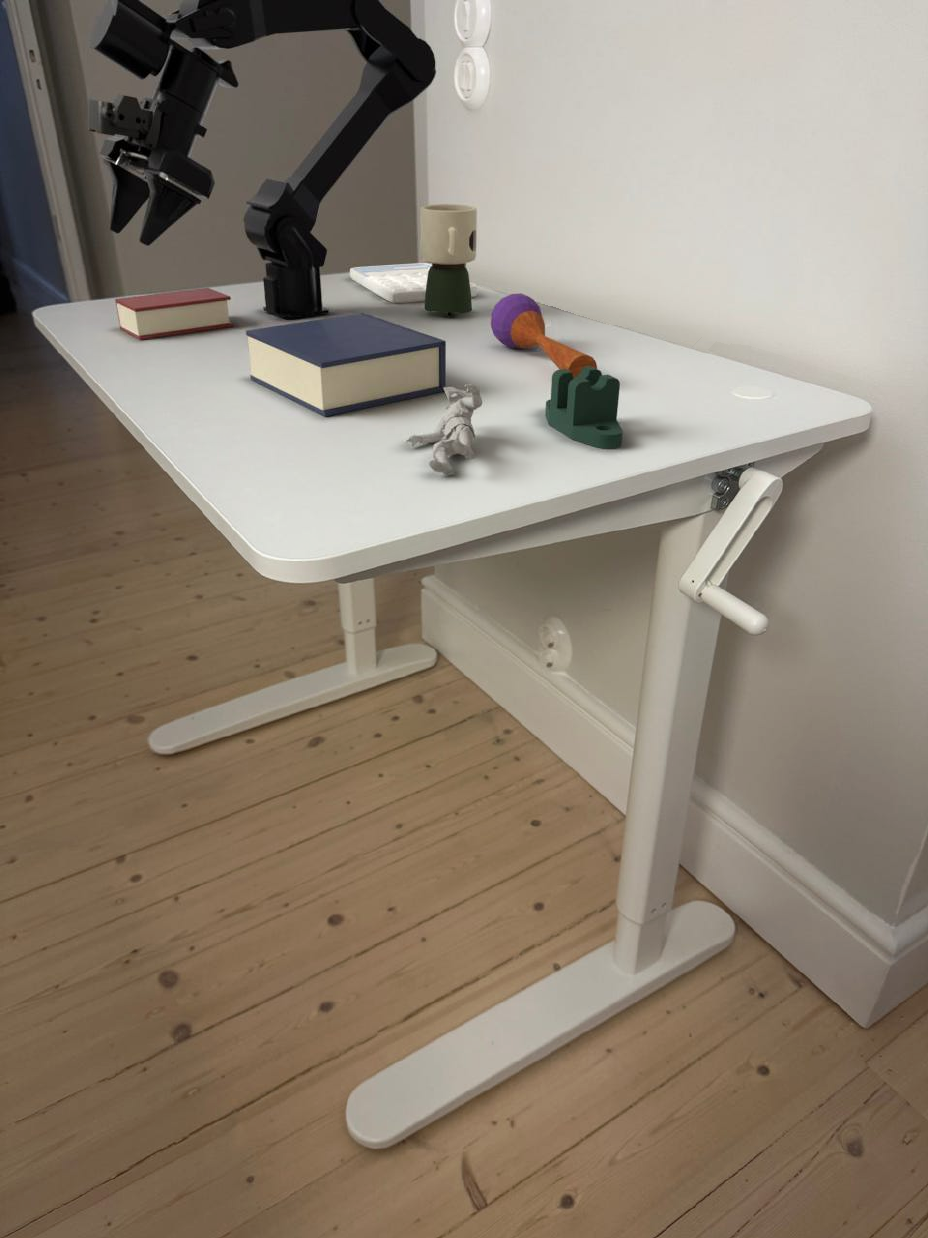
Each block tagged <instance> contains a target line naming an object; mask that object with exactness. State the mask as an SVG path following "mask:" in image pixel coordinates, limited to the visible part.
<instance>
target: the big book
mask: <svg viewBox="0 0 928 1238" xmlns="http://www.w3.org/2000/svg"><path fill="white" fill-rule="evenodd" d="M245 336H246V337H247V342H248V344H247V345H248V353H249V363H250V372H251V374H250V380H251V381H253V382H255V383H257V384H259V385H261V386H263V387H265V388H267V389H269V390H271V391H273V392H275V393H277V394H279V395H281V396H283V397H285V398H286V399H289V400H291V401H293V402H295V403H297V404H299V405H300V406H302V407H305V408H307V409H309V410H311V411H313V412H315V413H317V414H319V415H320V416H323V417H331V416H335V415H340V414H343V413H349V412H355V411H359V410H363V409H367V408H373V407H376V406H377V407H378V406H382V405H386V404H387V405H388V404H391V403H396V402H401V401H406V400H409V399H415V398H419V397H424V396H428V395H434V394H438V393H443V392H445V391H444V387H447V385H446V384H447V383H446V381H447V379H446V378H447V377H446V375H447V374H446V373H447V371H446V369H447V368H446V367H447V366H446V365H447V364H446V363H447V362H446V361H447V359H446V358H447V357H446V355H447V351H446V350H447V347H446V346H447V340H445V339H441V338H438V337H435V336H433V335H430V334H426V333H424V332H420V331H417V330H415V329H412V328H409V327H406V326H403V325H400V324H397V323H394V322H391V321H388V320H385V319H383V318H379V317H376V316H374V315H370V314H368V313H365V312H360V313H353V314H347V315H346V314H345V315H340V316H333V317H326V318H320V319H313V320H307V321H306V320H305V321H299V322H294V323H287V324H279V325H274V326H267V327H260V328H254V329H247V330H245Z"/></svg>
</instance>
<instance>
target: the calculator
mask: <svg viewBox="0 0 928 1238" xmlns="http://www.w3.org/2000/svg"><path fill="white" fill-rule="evenodd" d="M431 266H432V263H428V262H418V263H416V262H415V263H402V264H399V263H398V264H385V265H384V264H383V265H370V266H367V265H366V266H354V267H351V268H350V269H349V276H350V279H351V280H353V281H354V282H356V283H357V284H359V285H361V287H364V288H366V289H367V290H369V291H371V292H372V293H374V294H375V295H377V296H379V297H381V298H382V299H384V300H386V301H387V302H389V303H394V304H404V303H405V304H406V303H417V302H425V293H426V285H427V277H428V271H429V269H430V267H431ZM469 282H470V290H471V298H474V297H476V296H478V291H479V288H478V286H477V284H475V283H474V282H471V281H469Z"/></svg>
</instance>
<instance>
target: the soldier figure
mask: <svg viewBox="0 0 928 1238" xmlns="http://www.w3.org/2000/svg"><path fill="white" fill-rule="evenodd" d="M463 387H466V390H462V389H458V388H456V387H454V386H446V387H444V391H443V392H444V393H445V395H446V397H447V400H448V402H449V403H450V404H449V405H447V406H446V407H445V411H444V412H443V413H442V415H441V417H440V420H439V422H438V425H436V428H435V430H434V431H433V432H430V433H427V434H426V433H425V434H421V435H416V434H413V435H410V436H408V438H407V439H406V440H405V444H407V443H411V447H414V446H415V445H416V444H417V443H418V444H420V445H421V444H423V445H424V444H432V443H434V444H433V447H432V457H433V459H431V460H430V461H429V467H430V468H431V469H432V470H433V471H434V472H436V473H441V474H444V476H453V474H454V469H453V467H452V465H451V463H450V460H449V457H450V456H456V455H461V456H463V457H464V458H465V459H466V460H467V459H468V460H472V459H474V457H475V453H474V451H473V449H472V444H473V442H474V440H475V438H476V434H475V429H474V427H473V424H472V417H473V414H474V412H475V411H476V410H477V409H478V408H481V407H482V405H483V398H482V395H481V393H480V389H478V388H477V386H476V385H475V384H471V383H467V384H464V385H463ZM443 438H445V439H443Z"/></svg>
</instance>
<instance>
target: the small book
mask: <svg viewBox="0 0 928 1238" xmlns="http://www.w3.org/2000/svg"><path fill="white" fill-rule="evenodd" d="M114 300H115V307H116V312H117V318H118V324H119V330H121V331H122V332H124V333H126V334H128V335H130V336H132V337H133V338H135V339H138V340H140V341H143V340H150V339H157V338H162V337H169V336H170V337H171V336H176V335H183V334H190V333H198V332H203V331H204V332H205V331H212V330H219V329H225V328H232V327H234V322H232V321H230V315H229V314H230V313H229V306H228V305H229V304H228V301H230V300H232V297H231V296H230V295H228V294H225V293H222V292H220V291H217V290H214V289H212V288H210V287H204V288H195V289H187V290H179V291H172V292H171V291H170V292H163V293H154V294H145V295H138V296H129V297H120V298H115V299H114Z"/></svg>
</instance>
